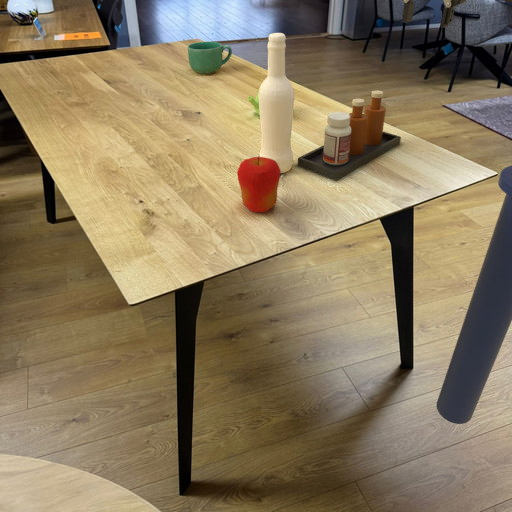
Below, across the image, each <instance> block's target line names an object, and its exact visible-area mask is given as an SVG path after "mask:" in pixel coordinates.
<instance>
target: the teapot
mask: <svg viewBox="0 0 512 512" xmlns="http://www.w3.org/2000/svg"><path fill="white" fill-rule="evenodd" d="M259 89H260V87H258V89H257V94H256V96H255V98H254V97H253V96H252V95H250V96H249V97H247V101H248V102H249V103H250V104H251V105H252V107H253V110H254V111H255V112H256V113H257V115H258V116H260V112H259V99H258V94H259Z"/></svg>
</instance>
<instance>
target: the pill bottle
mask: <svg viewBox="0 0 512 512" xmlns="http://www.w3.org/2000/svg"><path fill="white" fill-rule="evenodd" d="M349 114H350V113H348V112H344V111H333V112H330V113H328V115H327V124H326V125H325V128H324V140H323V145H324V153H323V160H324V162H325V163H327V164H330V165H343V164H345V163H347V162H348V159H349V149H350V139H351V127H350V126H349V124H350V115H349Z"/></svg>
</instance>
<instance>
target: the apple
mask: <svg viewBox="0 0 512 512" xmlns="http://www.w3.org/2000/svg"><path fill="white" fill-rule="evenodd" d="M236 173H237V180H238V181H237V182H238V184H239V187H240V192H241V193H240V194H241V201H242V204H243V205H244V206H245V207H246V208H247V209H248V210H249V211H251V212H253V213H266V212H268V211H269V210H271V209H272V208H273V207H274V206H275V205H276V204H277V201H278V188H279V183H280V178H281V174H280V168H279V166H278V164H277V162H276V161H275V160H272V159H269V158H264V157H259V155H258V156H252V157H250V158H246V159H244V160H243V161H241V162H240V164H239V167H238V169H237V171H236Z"/></svg>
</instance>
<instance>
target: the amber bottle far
mask: <svg viewBox="0 0 512 512" xmlns="http://www.w3.org/2000/svg"><path fill="white" fill-rule="evenodd" d="M370 94H371V95H370V97H371V101H370V104H367V105H364V109H363V111H364V112H363V114H365V115H367V116H368V120H367V128H366V136H365V145H370V146H375V145H379V144H381V140H382V133H383V132H384V127H385V126H384V124H385V118H386V112H387V107H386V106H384V105H382V100H383V99H382V98H383V97H384V91H382V90H378V89H377V90H371V93H370Z"/></svg>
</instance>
